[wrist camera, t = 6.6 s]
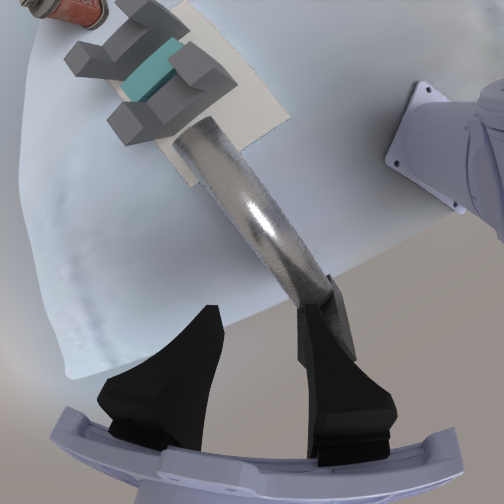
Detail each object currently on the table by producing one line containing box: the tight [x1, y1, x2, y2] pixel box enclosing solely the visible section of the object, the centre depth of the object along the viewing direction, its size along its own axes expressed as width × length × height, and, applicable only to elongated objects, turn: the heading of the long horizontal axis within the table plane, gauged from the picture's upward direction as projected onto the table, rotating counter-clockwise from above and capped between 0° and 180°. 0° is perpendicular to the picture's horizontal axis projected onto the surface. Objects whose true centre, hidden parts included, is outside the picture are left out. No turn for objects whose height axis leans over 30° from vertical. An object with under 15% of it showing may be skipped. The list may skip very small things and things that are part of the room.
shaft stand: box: [64, 0, 291, 188], centre depth 14 cm, size 13×9×8 cm
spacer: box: [120, 37, 184, 102], centre depth 14 cm, size 2×4×4 cm, turn 126°
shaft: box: [172, 116, 357, 368], centre depth 13 cm, size 14×2×6 cm, turn 36°
